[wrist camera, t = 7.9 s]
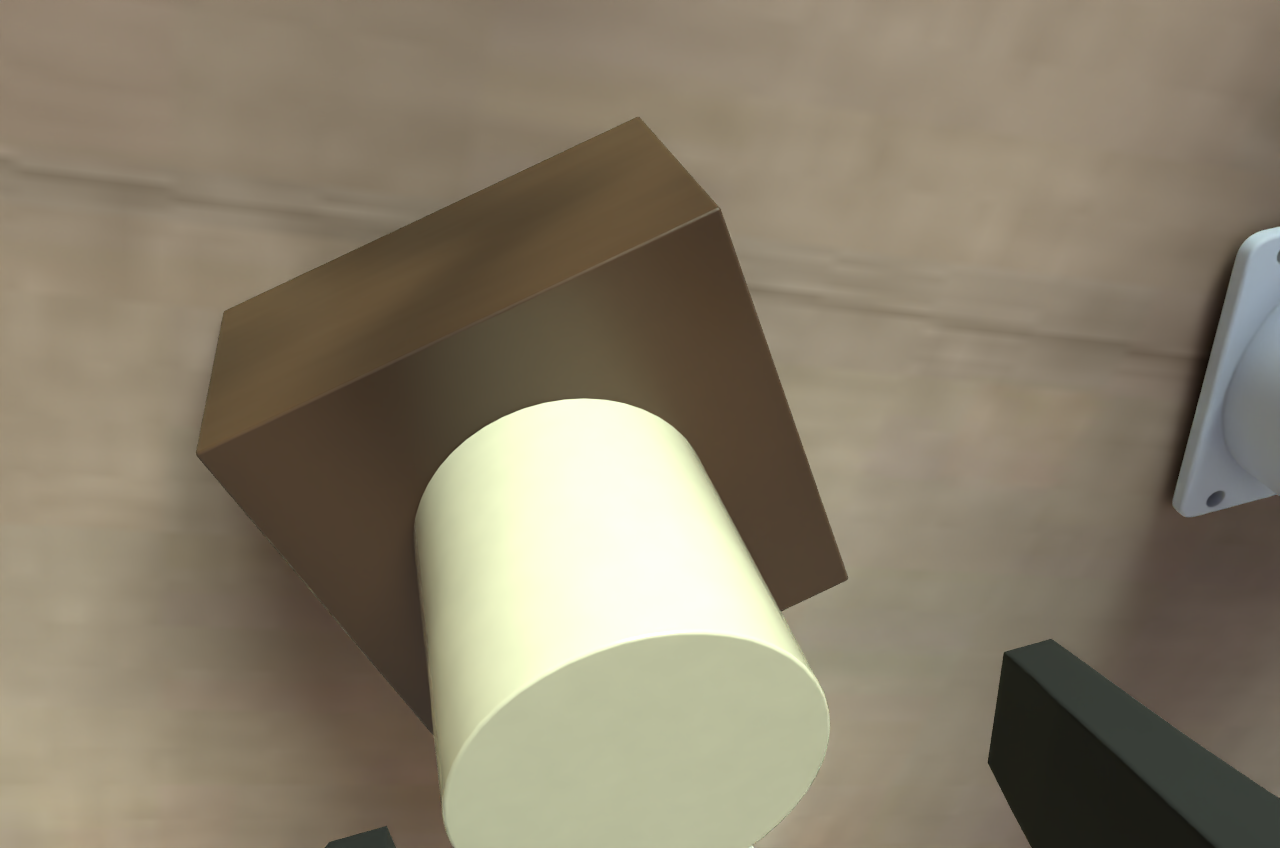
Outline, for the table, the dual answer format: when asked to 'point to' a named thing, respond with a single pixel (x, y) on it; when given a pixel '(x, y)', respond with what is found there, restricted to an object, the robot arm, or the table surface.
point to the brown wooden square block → (503, 377)
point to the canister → (604, 643)
